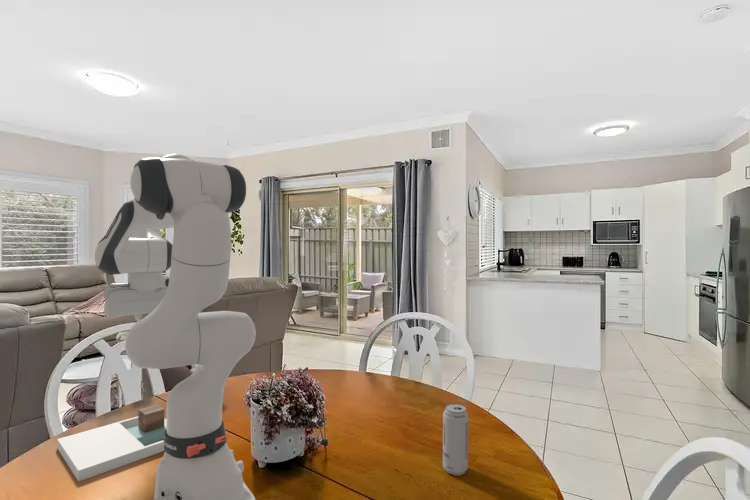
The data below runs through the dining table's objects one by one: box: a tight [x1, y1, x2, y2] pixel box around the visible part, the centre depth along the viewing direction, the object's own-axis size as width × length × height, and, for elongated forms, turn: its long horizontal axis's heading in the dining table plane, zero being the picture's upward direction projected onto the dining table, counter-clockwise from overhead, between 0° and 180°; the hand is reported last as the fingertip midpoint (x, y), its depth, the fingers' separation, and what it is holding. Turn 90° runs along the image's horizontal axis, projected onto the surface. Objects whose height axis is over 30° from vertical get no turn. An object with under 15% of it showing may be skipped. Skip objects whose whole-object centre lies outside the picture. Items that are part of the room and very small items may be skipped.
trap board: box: [56, 416, 167, 482], centre depth 106 cm, size 22×24×2 cm
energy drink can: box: [442, 403, 469, 476], centre depth 96 cm, size 6×6×15 cm
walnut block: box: [137, 404, 165, 433], centre depth 112 cm, size 5×5×5 cm
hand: (145, 328), depth 117 cm, fingers closed
